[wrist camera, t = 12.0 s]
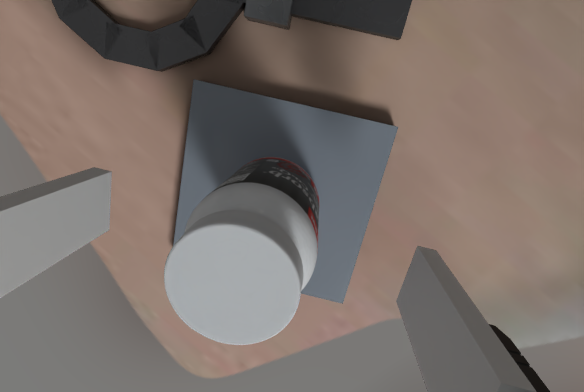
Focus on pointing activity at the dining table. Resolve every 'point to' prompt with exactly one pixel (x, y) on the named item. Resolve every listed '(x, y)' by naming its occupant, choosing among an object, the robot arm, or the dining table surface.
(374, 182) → the slate trivet
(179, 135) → the dining table surface
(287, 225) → the pill bottle
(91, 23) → the iron eye
